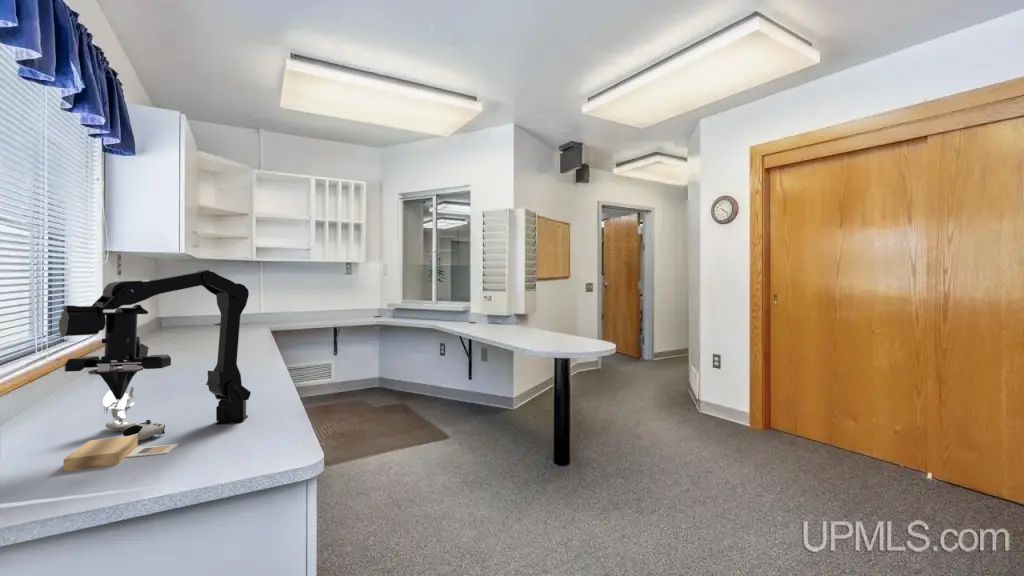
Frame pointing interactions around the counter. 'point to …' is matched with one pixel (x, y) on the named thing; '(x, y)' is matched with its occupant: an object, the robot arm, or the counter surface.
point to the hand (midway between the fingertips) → (119, 398)
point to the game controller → (144, 429)
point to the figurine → (118, 410)
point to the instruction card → (152, 450)
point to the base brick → (101, 452)
